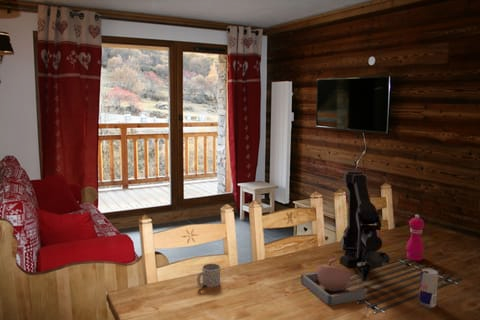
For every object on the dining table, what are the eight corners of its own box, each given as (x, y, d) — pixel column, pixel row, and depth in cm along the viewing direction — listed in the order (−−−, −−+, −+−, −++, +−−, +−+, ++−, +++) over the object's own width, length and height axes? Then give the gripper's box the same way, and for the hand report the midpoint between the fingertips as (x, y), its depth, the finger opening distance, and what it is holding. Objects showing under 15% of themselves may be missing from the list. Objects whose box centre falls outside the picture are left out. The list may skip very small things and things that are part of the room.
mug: (212, 278, 160) (212, 262, 159) (223, 283, 155) (223, 267, 154) (191, 286, 153) (191, 269, 152) (203, 292, 148) (203, 274, 148)
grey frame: (300, 282, 157) (301, 274, 157) (334, 276, 163) (335, 269, 162) (328, 305, 139) (328, 297, 139) (365, 298, 145) (366, 290, 144)
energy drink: (415, 300, 143) (418, 268, 142) (430, 300, 144) (432, 267, 142) (423, 308, 138) (426, 274, 136) (438, 307, 139) (441, 274, 137)
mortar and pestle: (351, 285, 155) (352, 256, 153) (348, 299, 144) (349, 268, 142) (319, 280, 159) (320, 252, 157) (314, 294, 148) (315, 263, 146)
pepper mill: (424, 261, 179) (428, 217, 176) (407, 260, 180) (410, 216, 177) (420, 255, 186) (424, 212, 183) (404, 254, 187) (407, 211, 184)
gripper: (357, 251, 143) (355, 294, 145) (401, 246, 149) (398, 286, 151) (339, 241, 153) (337, 280, 156) (381, 236, 159) (378, 274, 162)
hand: (363, 280), depth 156 cm, fingers closed
